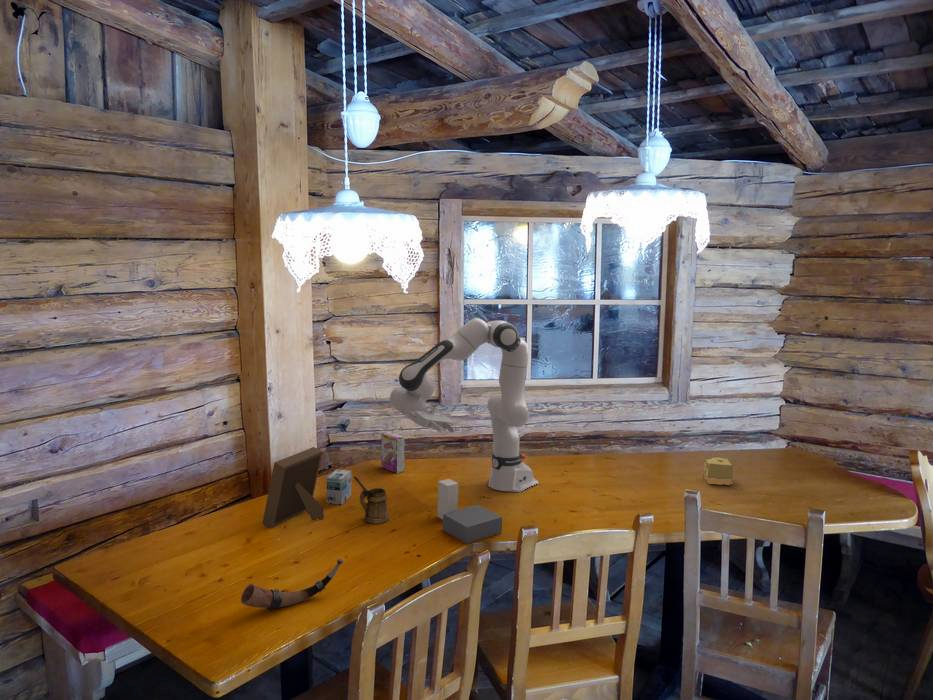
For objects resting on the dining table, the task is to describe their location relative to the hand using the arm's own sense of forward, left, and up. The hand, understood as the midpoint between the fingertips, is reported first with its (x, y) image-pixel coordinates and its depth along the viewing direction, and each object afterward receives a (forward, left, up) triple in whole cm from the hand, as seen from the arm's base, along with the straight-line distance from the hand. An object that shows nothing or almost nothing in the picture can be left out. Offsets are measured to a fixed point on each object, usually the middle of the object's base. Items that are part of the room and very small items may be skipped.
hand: (447, 430), depth 268 cm
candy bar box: (-7, -50, -31) cm, 59 cm away
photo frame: (+52, -21, -32) cm, 64 cm away
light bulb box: (+30, -31, -32) cm, 53 cm away
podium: (+5, +23, -31) cm, 39 cm away
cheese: (-119, +44, -32) cm, 131 cm away
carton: (+5, +8, -31) cm, 33 cm away
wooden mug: (+30, -6, -31) cm, 44 cm away
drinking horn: (+78, +33, -32) cm, 91 cm away
